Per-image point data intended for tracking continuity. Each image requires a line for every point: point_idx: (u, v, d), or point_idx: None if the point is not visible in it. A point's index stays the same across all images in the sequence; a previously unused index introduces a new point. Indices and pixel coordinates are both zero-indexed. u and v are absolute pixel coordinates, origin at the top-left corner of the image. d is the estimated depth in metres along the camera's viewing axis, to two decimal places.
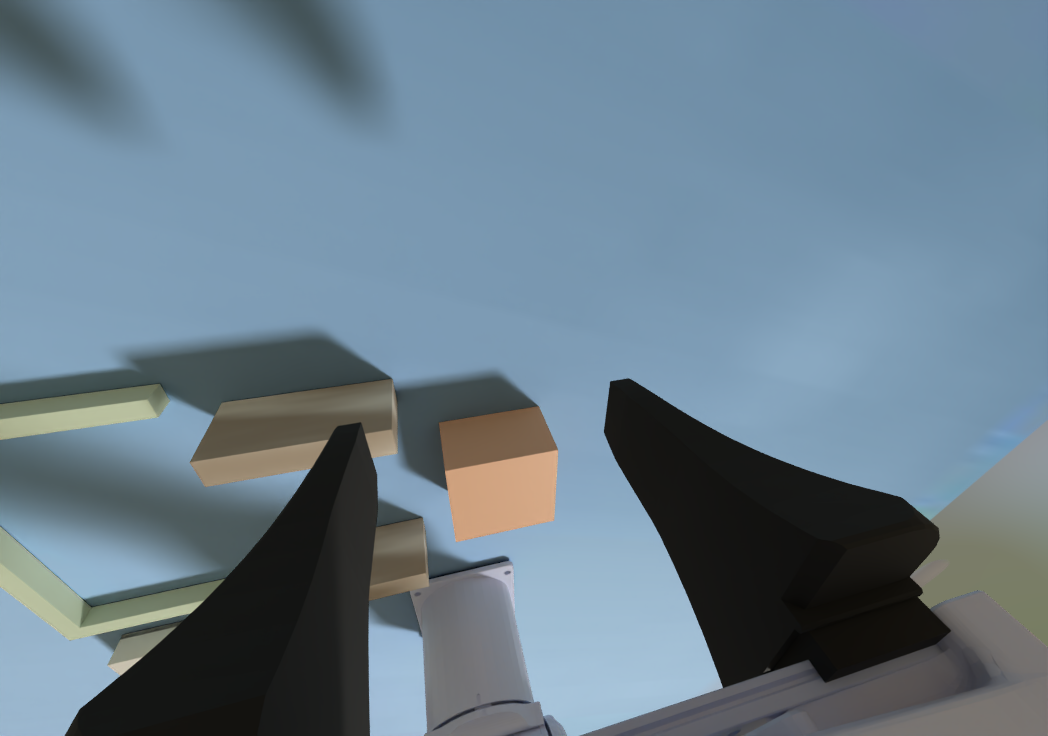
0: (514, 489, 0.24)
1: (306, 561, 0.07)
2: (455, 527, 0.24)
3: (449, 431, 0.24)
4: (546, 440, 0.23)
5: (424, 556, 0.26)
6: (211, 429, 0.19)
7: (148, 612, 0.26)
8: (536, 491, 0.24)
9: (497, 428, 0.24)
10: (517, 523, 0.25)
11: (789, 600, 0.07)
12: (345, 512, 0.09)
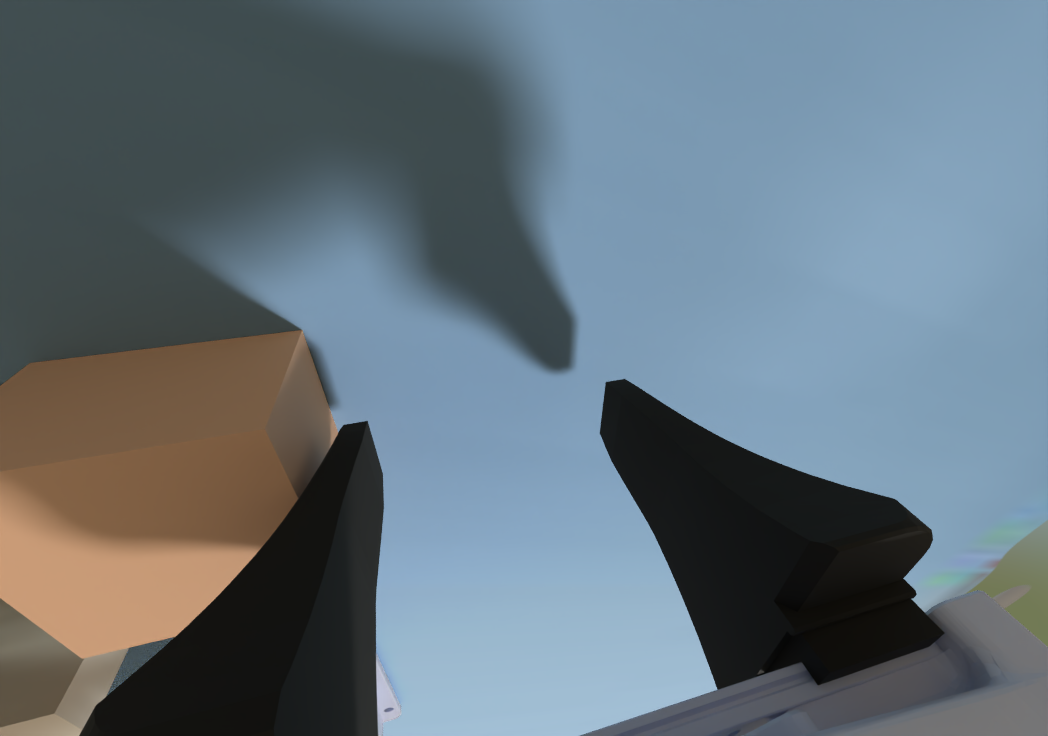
0: (180, 535, 0.09)
1: (316, 559, 0.07)
2: (51, 630, 0.09)
3: (25, 385, 0.09)
4: (254, 405, 0.09)
5: (80, 666, 0.12)
6: None
7: None
8: (255, 537, 0.09)
9: (154, 378, 0.09)
10: None
11: (782, 602, 0.07)
12: (353, 511, 0.09)
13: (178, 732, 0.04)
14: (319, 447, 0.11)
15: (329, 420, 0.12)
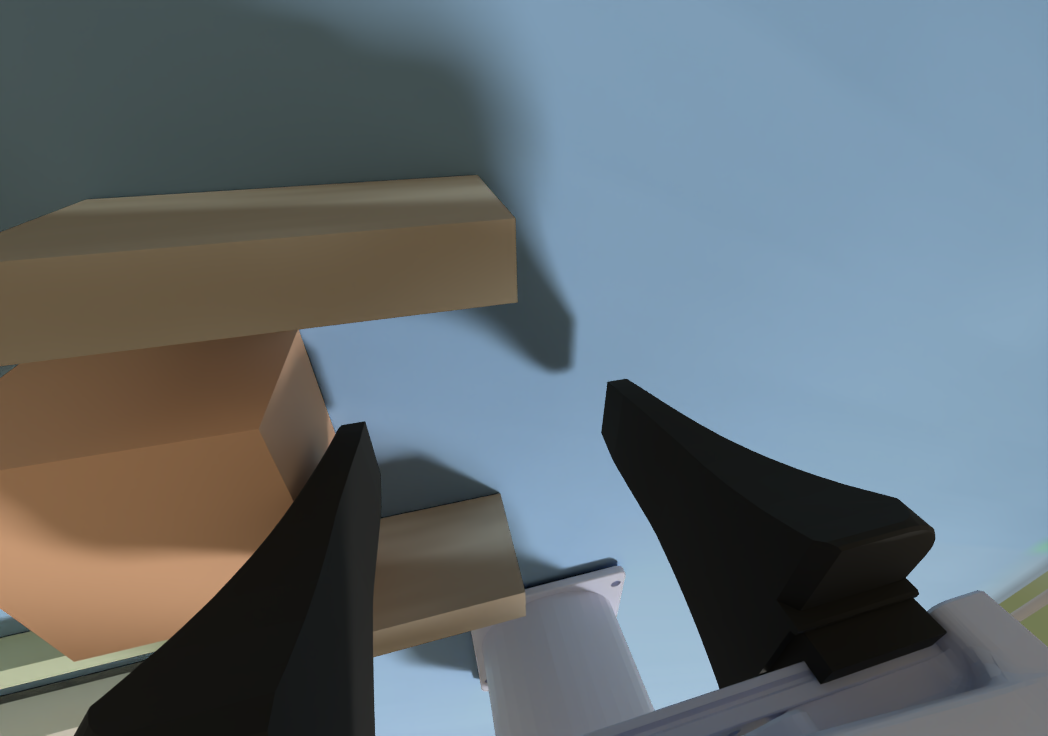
0: (173, 537, 0.09)
1: (312, 559, 0.07)
2: (42, 633, 0.09)
3: (17, 385, 0.09)
4: (247, 404, 0.08)
5: (515, 560, 0.14)
6: (26, 225, 0.07)
7: (6, 669, 0.14)
8: (249, 539, 0.09)
9: (147, 378, 0.09)
10: None
11: (785, 601, 0.07)
12: (349, 512, 0.09)
13: (171, 734, 0.04)
14: (315, 448, 0.11)
15: (325, 420, 0.12)
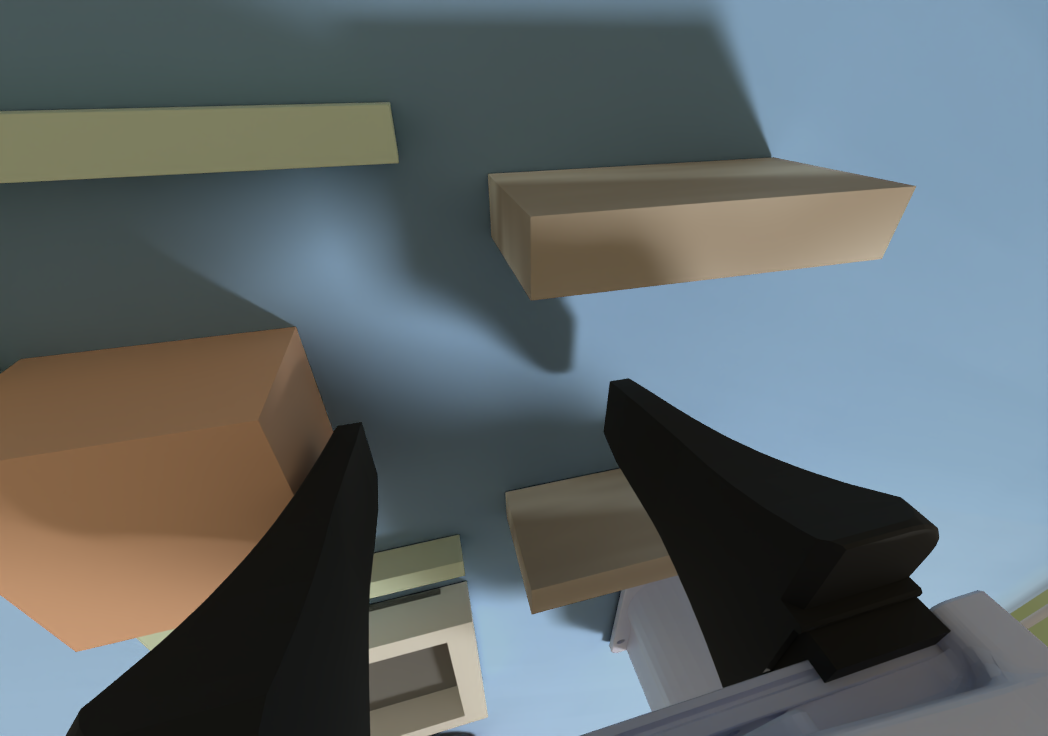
0: (174, 527, 0.09)
1: (307, 561, 0.07)
2: (45, 623, 0.10)
3: (19, 378, 0.09)
4: (247, 396, 0.09)
5: None
6: (514, 190, 0.09)
7: None
8: (249, 530, 0.09)
9: (148, 371, 0.09)
10: None
11: (788, 600, 0.07)
12: (345, 512, 0.09)
13: None
14: (313, 441, 0.11)
15: (324, 415, 0.13)
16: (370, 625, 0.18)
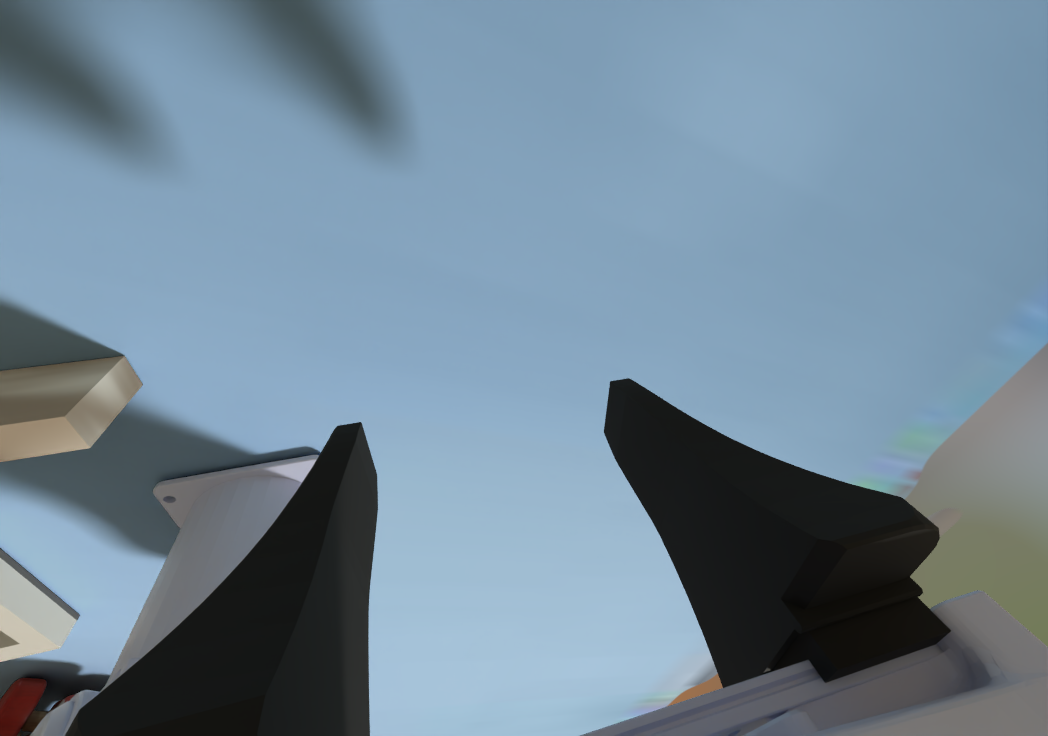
0: None
1: (306, 561, 0.07)
2: None
3: None
4: None
5: (83, 398, 0.15)
6: None
7: None
8: None
9: None
10: None
11: (790, 600, 0.07)
12: (344, 512, 0.09)
13: None
14: None
15: None
16: None
